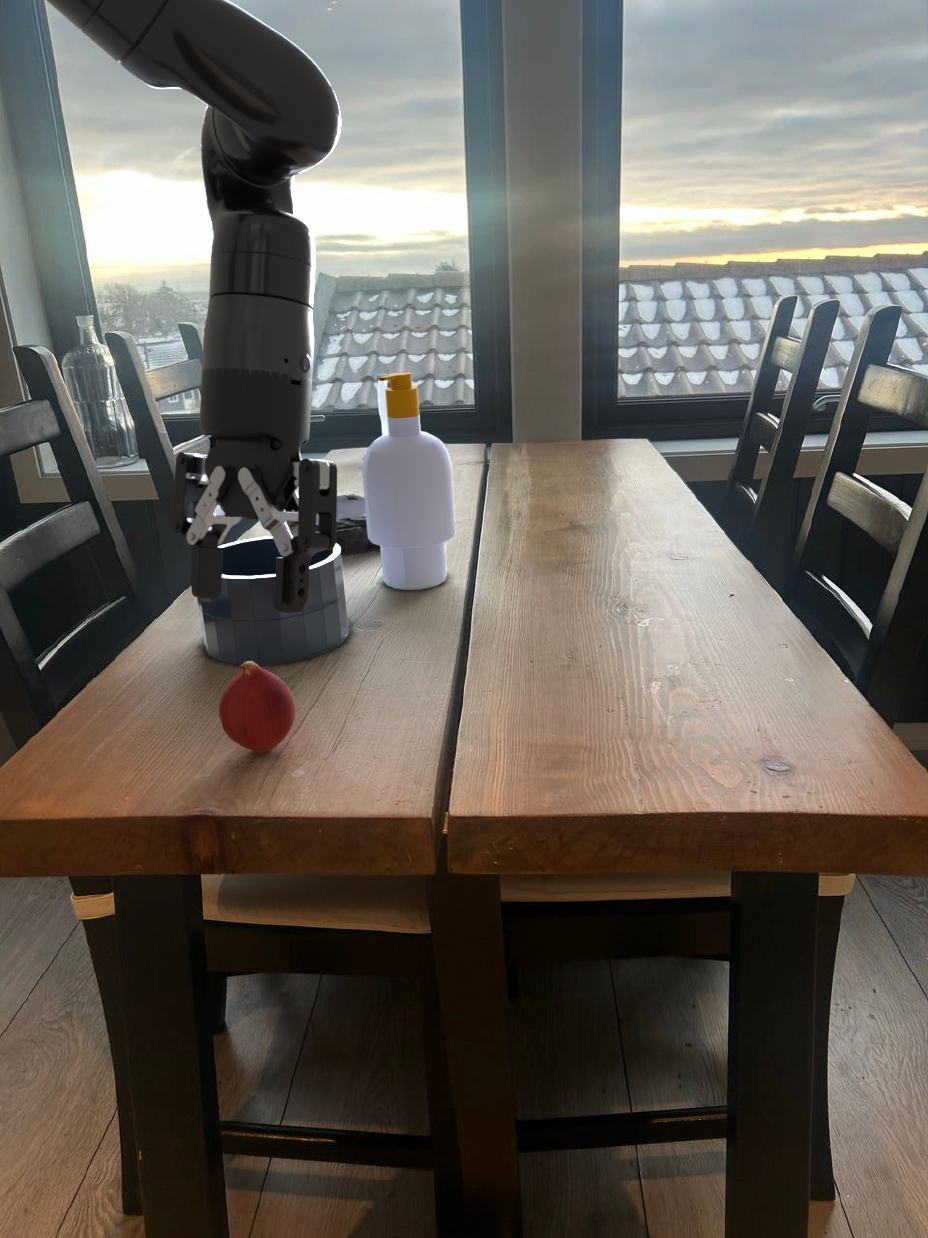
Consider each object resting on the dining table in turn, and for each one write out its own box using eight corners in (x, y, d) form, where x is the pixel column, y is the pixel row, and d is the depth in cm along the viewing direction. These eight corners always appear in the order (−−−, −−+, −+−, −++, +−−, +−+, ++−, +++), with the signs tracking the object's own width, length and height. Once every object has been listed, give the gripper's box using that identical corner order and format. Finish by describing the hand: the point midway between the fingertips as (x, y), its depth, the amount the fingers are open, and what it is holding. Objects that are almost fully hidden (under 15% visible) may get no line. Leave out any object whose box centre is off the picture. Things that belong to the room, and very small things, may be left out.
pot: (288, 676, 94) (277, 585, 91) (175, 653, 101) (161, 568, 98) (376, 624, 106) (369, 542, 102) (269, 607, 113) (259, 530, 109)
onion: (256, 731, 83) (244, 642, 81) (314, 742, 81) (303, 651, 78) (211, 763, 78) (196, 669, 76) (270, 776, 76) (257, 680, 73)
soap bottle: (354, 587, 118) (334, 378, 109) (410, 564, 125) (395, 366, 117) (421, 601, 112) (405, 381, 103) (476, 576, 119) (465, 369, 111)
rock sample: (297, 565, 127) (293, 527, 125) (278, 535, 141) (274, 501, 139) (428, 546, 132) (426, 510, 130) (397, 519, 146) (394, 486, 144)
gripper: (147, 365, 70) (139, 595, 72) (292, 360, 62) (278, 619, 64) (230, 381, 76) (220, 592, 78) (371, 378, 68) (356, 614, 70)
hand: (246, 604), depth 71 cm, fingers open, 8 cm apart
